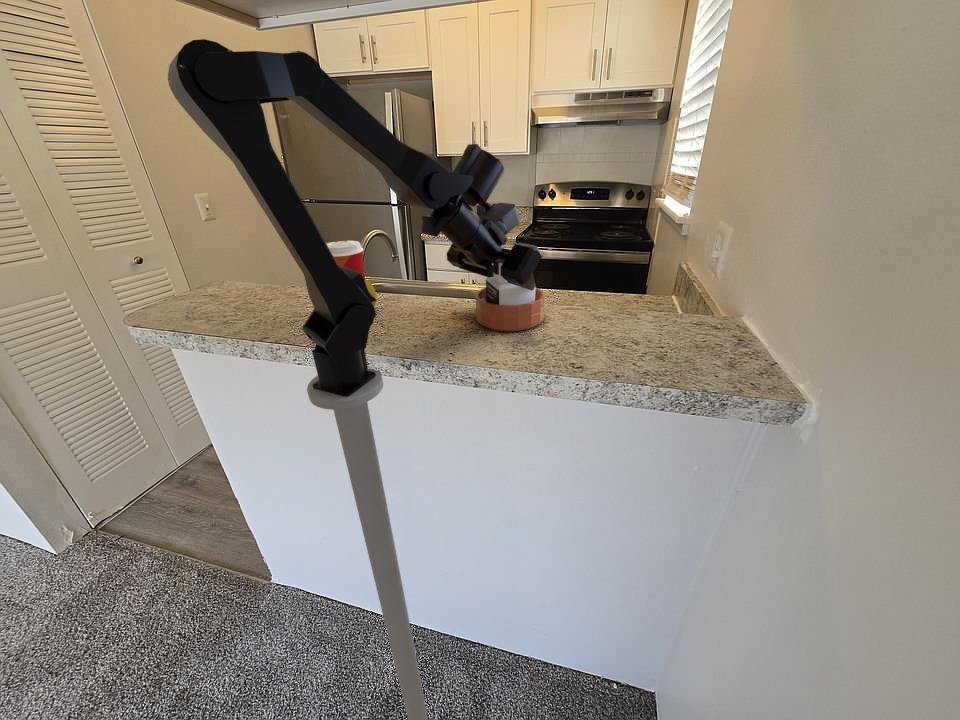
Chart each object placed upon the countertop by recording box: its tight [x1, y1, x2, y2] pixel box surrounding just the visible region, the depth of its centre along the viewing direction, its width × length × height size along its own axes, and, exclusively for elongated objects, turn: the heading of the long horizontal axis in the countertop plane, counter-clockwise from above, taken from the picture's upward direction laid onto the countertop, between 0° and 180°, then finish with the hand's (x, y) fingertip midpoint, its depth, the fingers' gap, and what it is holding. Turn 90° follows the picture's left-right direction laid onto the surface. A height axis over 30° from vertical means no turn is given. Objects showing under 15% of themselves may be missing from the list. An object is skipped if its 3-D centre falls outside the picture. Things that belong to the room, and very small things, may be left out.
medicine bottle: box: [485, 262, 535, 305], centre depth 74 cm, size 7×7×12 cm
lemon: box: [365, 278, 377, 308], centre depth 79 cm, size 6×6×8 cm
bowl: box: [475, 286, 546, 332], centre depth 76 cm, size 13×13×5 cm
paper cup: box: [326, 240, 366, 280], centre depth 77 cm, size 8×8×14 cm
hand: (514, 282), depth 74 cm, fingers open, 9 cm apart
